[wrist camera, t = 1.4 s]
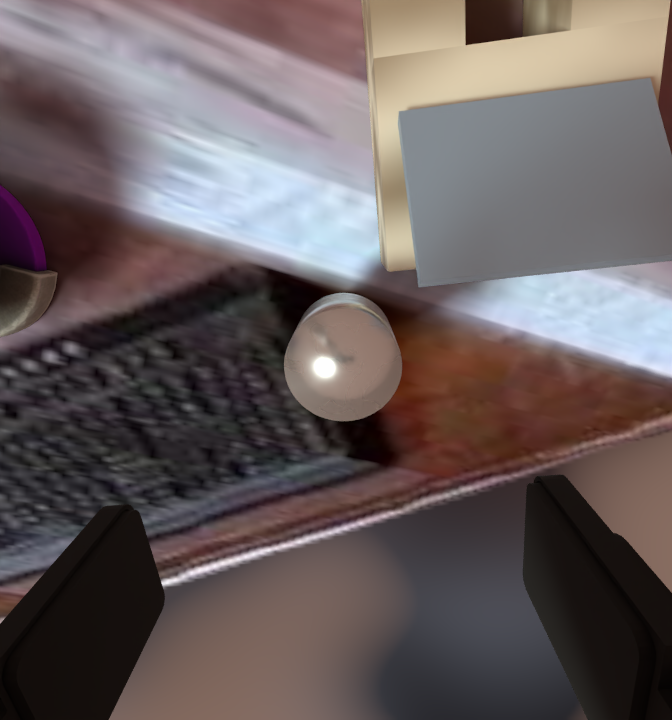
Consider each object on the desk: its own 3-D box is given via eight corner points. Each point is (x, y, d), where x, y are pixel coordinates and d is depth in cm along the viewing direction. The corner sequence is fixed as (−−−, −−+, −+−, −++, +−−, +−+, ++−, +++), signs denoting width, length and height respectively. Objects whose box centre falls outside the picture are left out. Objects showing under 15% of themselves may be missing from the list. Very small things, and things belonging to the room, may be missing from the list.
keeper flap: (397, 123, 21) (398, 111, 20) (639, 91, 20) (650, 77, 20) (418, 287, 19) (420, 280, 19) (684, 259, 19) (698, 251, 18)
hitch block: (357, -56, 24) (359, -143, 18) (608, -96, 23) (694, -201, 17) (381, 262, 29) (388, 272, 24) (582, 239, 28) (641, 244, 23)
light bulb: (300, 284, 30) (275, 316, 20) (382, 276, 30) (398, 303, 20) (310, 361, 32) (293, 425, 22) (387, 354, 32) (405, 416, 22)
